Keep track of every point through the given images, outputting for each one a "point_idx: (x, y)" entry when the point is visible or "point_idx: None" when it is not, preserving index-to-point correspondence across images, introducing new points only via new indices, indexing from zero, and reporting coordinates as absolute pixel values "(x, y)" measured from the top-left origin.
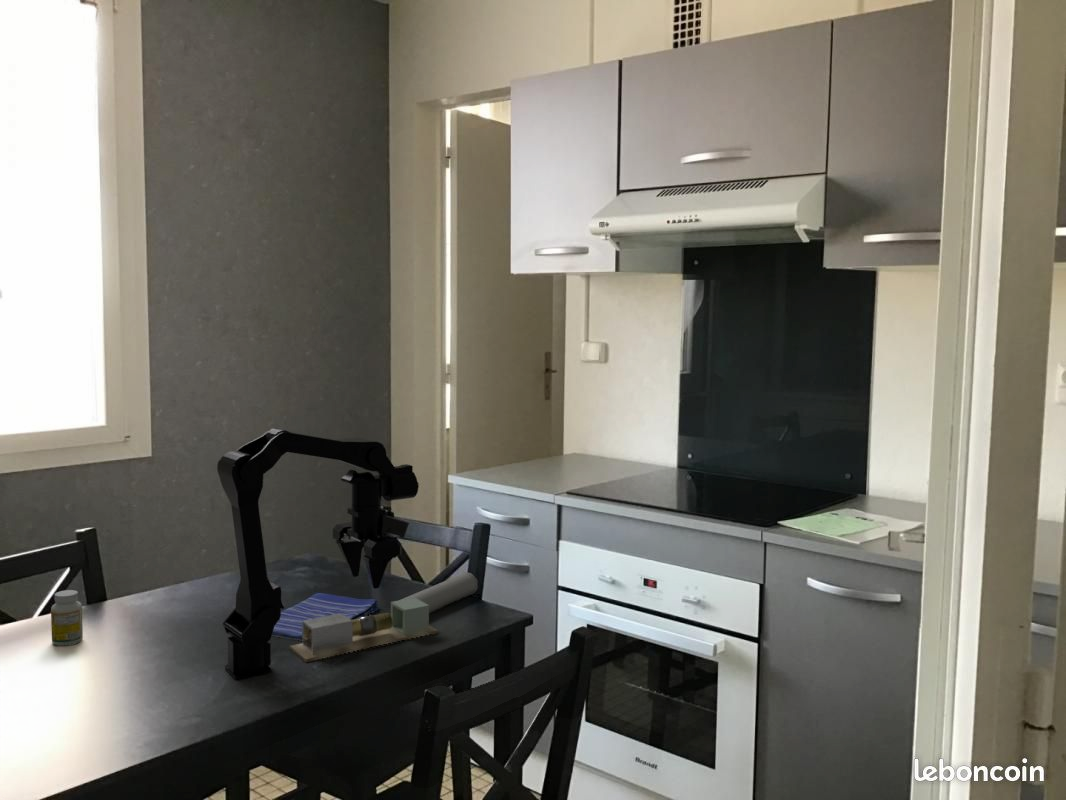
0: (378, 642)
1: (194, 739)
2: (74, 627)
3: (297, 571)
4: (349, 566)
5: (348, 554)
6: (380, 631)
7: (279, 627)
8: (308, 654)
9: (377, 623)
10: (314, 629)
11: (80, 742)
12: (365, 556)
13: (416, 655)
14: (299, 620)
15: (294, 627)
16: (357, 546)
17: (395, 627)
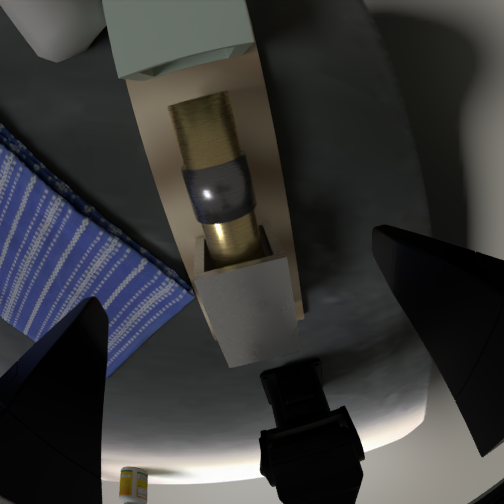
0: (270, 145)
1: (425, 386)
2: (142, 484)
3: None
4: (102, 385)
5: (85, 455)
6: None
7: None
8: None
9: (240, 149)
10: (299, 345)
11: (370, 437)
12: (502, 442)
13: (376, 76)
14: (60, 310)
15: None
16: (19, 463)
17: (167, 68)
